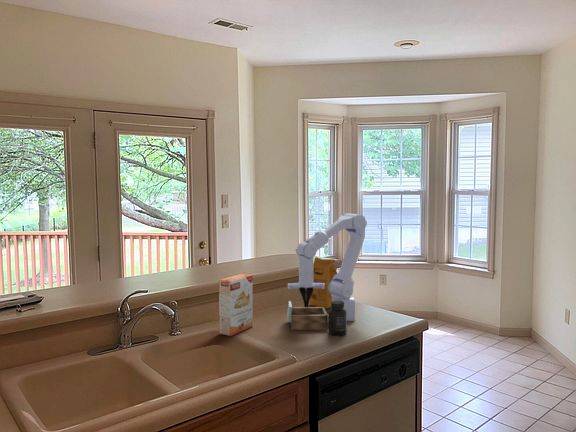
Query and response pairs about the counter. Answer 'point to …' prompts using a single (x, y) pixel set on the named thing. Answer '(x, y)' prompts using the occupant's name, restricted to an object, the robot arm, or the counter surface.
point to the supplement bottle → (337, 319)
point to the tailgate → (289, 311)
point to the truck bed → (309, 318)
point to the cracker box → (235, 304)
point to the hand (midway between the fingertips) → (306, 306)
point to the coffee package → (322, 274)
